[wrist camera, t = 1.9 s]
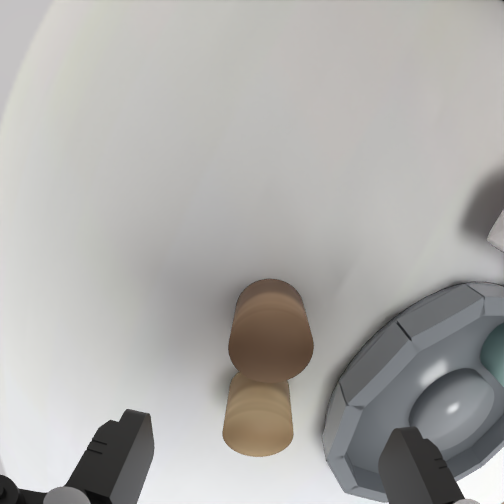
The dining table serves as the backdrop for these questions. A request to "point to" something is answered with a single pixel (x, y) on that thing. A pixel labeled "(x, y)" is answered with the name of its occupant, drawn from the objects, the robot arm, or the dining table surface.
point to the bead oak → (257, 417)
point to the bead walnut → (270, 332)
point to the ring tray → (420, 389)
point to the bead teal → (494, 353)
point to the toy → (497, 233)
